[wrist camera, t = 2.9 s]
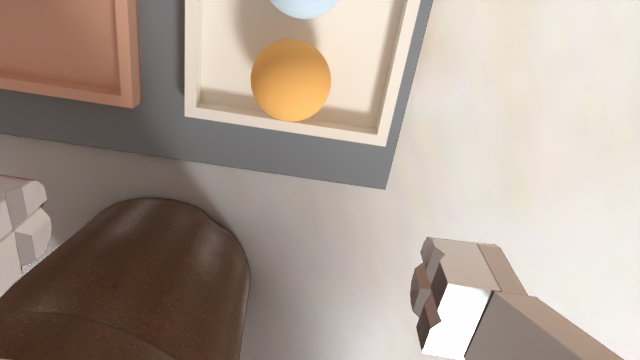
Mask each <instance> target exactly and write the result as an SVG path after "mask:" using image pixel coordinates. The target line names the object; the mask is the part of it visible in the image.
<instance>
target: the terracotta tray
mask: <svg viewBox="0 0 640 360" xmlns="http://www.w3.org/2000/svg"><path fill="white" fill-rule="evenodd" d="M0 89H7V90H13V91H20V92H27V93H33V94H40V95H47V96H53V97H60V98H66V99H73V100H80V101H86V102H93V103H99V104H106V105H113V106H119V107H126V108H134V107H136V106H137V105H138V104H140V103H141V102H142V101H143V87H142V63H141V39H140V16H139V0H0Z"/></svg>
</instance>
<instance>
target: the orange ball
mask: <svg viewBox="0 0 640 360" xmlns="http://www.w3.org/2000/svg"><path fill="white" fill-rule="evenodd" d="M330 88H331V74H330V70H329V66H328V64H327V62H326V60H325V58H324V57H323V55H322V54H321V53H320V52H319V51H318V50H317V49H316V48H315V47H313V46H312V45H310V44H308V43H306V42H304V41H301V40H296V39H284V40H280V41H277V42H274V43H272V44H270V45H269V46H267V47H266V48H265V49H264V50H263V51H262V52H261V53H260V54H259V55H258V57H257V58H256V60H255V62H254V64H253V67H252V71H251V89H252V92H253V95H254V98H255V100H256V101H257V103H258V104H259V106H260V107H261V108H262V109H263V110H264V111H265V112H266V113H267V114H269V115H270V116H272V117H274V118H276V119H279V120H282V121H289V122H293V121H301V120H304V119H307V118H309V117H311V116H312V115H314V114H315V113H317V112H318V111H319V110H320V109H321V108H322V106H323V105H324V104H325V102H326V100H327V98H328V96H329V93H330Z"/></svg>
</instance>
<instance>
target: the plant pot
mask: <svg viewBox="0 0 640 360" xmlns="http://www.w3.org/2000/svg"><path fill="white" fill-rule="evenodd" d="M249 288H250V270H249V265H248V262H247V258H246V256H245V253H244V251H243V249H242V247H241V245H240V244H239V242H238V241H237V239H236V238H235V237H234V235H233V234H232V233H231V232H230V231H229V230H228V229H226V228H223V227H220V226H219V225H217V224H216V223H215V222H214V221H212V220H211V219H210V218H209V217H208V216H207V215H206V214H205V212H204V211H202V210H201V209H198V208H196V207H194V206H191V205H188V204H186V203H182V202H179V201H175V200H169V199H160V198H139V199H132V200H127V201H123V202H119V203H116V204H114V205H112V206H110V207H108V208H107V209H105V210H103V211H101V212H100V213H99V214H98V215H97V216H95V217H94V218H93V219H92V220H91V221H90V222H89V223H87V224H86V225H85V226H84V227H83V228H82V229H80V230H79V231H78V232H77V233H75V234H74V235H73V236H72V237H71V238H69V239H68V240H67V241H66V242H64V243H63V244H62V245H61V246H59V247H58V248H57V249H56V250H55V251H53V252H52V253H51V254H50V255H48V256H47V257H46V258H45V259H44V260H42V261H41V262H40V263H39V264H37V265H36V266H35V267H34V268H32V269H31V270H30V271H29V272H28V273H26V274H25V275H24V276H23V277H21V278H20V279H19V280H18V281H17V282H15V283H14V284H13V285H12V286H11V287H10V288H9V289H8V290H7V291H6V292H5V293H4V294H3V295H2V296H1V297H0V359H9V360H239V356H240V349H241V342H242V335H243V327H244V320H245V314H246V307H247V300H248V295H249Z"/></svg>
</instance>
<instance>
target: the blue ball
mask: <svg viewBox="0 0 640 360" xmlns="http://www.w3.org/2000/svg"><path fill="white" fill-rule="evenodd" d="M270 1H271V3H272V4H273V5H274V6H275V7H276V8H277V9H279V10H280V11H281V12H283V13H285V14H287V15H289V16H291V17H295V18H300V19H310V18H315V17H318V16H321V15H323V14H325V13H327V12H328V11H330V10H331V9H332V8H333V7H334V6H335V5H336V4H337V3H338V2H339V0H270Z"/></svg>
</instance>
